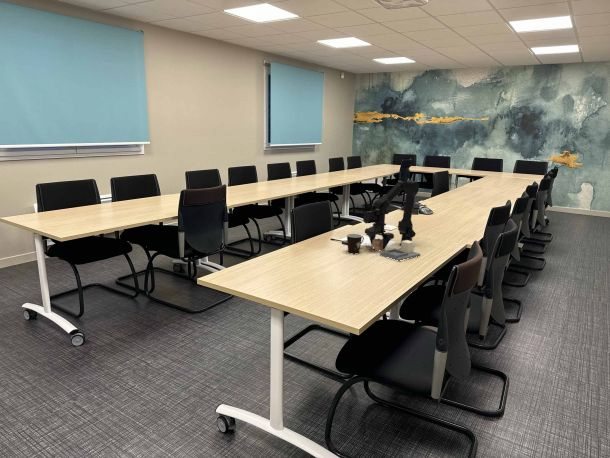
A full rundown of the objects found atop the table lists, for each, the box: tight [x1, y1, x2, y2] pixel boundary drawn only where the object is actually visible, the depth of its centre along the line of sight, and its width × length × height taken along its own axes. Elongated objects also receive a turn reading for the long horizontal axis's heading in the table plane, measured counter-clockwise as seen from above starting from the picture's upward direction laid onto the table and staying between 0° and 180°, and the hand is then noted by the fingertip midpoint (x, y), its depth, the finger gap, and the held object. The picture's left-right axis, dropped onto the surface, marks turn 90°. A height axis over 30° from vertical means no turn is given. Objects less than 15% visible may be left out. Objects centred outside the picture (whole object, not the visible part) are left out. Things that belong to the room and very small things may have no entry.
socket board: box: [379, 240, 421, 262], centre depth 239 cm, size 18×14×8 cm
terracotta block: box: [371, 238, 384, 252], centre depth 251 cm, size 5×5×6 cm
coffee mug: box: [346, 233, 365, 255], centre depth 244 cm, size 12×9×10 cm
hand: (378, 247), depth 252 cm, fingers open, 9 cm apart
